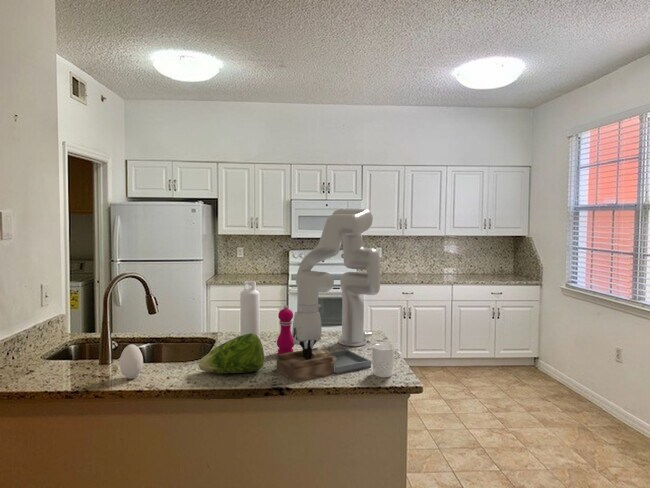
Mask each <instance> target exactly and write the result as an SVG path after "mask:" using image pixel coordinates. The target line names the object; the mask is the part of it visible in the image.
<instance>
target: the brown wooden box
mask: <svg viewBox="0 0 650 488" xmlns="http://www.w3.org/2000/svg"><path fill="white" fill-rule="evenodd" d="M318 349H319V348H316V347H315V348H314V347H313V348H312V351H313V350H318ZM302 354H303V349H302V350H297V351H293V352H290V353H284V354H278V353H277V358H276V370H277V371H278V372H280V373H281V374H283V376H285V377H286V378H288V379H289V380H291V381H292V382H293V383H294V382H298V381H304V380H309V379H313V378H319V377H324V376H328V375H329V376H330V375H334V374H335V373H334V362H333V357H332V356H326V357H320V358H315V359H308V360H306V359H304V358H303V355H302Z"/></svg>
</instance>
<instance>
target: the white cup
mask: <svg viewBox="0 0 650 488" xmlns="http://www.w3.org/2000/svg"><path fill="white" fill-rule="evenodd" d="M371 351H372V352H371V353H372V354H371V356H372V357H371V358H372V368H373V369H372V372H373V375H374V376H375V377H377V378H378V377H379V378H389V377H391V376H393V371H394V370H393V368H394V361H395V346H394V345H392V344H390V343H389V344H388V343H375V344H373V345H371Z"/></svg>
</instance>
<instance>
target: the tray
mask: <svg viewBox="0 0 650 488" xmlns="http://www.w3.org/2000/svg"><path fill="white" fill-rule="evenodd" d="M329 352H330V353H331V354H333V355H334V356H335V357H336V358H337V359H336V361H335V362H334V374H335V375H340V374H344V373H349V372H354V371H359V370H364V369H368V368H372V360H371V359H368V358H366V357H364V356H362V355H360V354H357V353H356V352H354V351H352V350H349V349H342V350H336V351H329Z"/></svg>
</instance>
